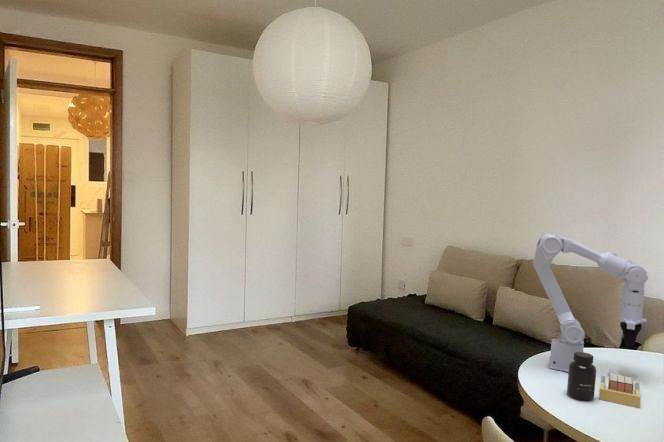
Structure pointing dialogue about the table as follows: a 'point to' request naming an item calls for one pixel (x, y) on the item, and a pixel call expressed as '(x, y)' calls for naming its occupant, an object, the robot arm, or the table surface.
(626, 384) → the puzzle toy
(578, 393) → the supplement bottle
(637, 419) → the table surface
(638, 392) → the tube holder
